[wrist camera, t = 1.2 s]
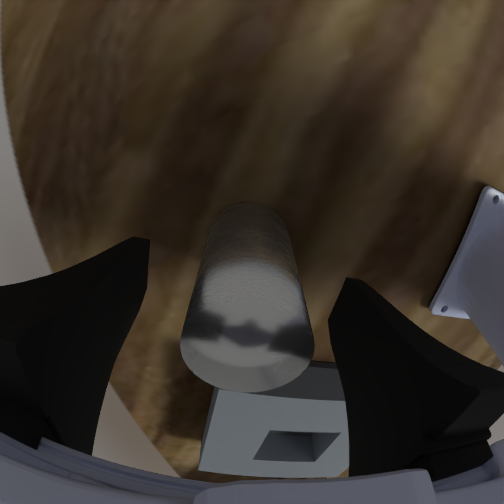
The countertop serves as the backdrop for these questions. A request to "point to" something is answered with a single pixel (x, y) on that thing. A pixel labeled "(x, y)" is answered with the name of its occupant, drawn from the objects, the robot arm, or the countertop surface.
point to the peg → (247, 305)
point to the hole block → (279, 428)
